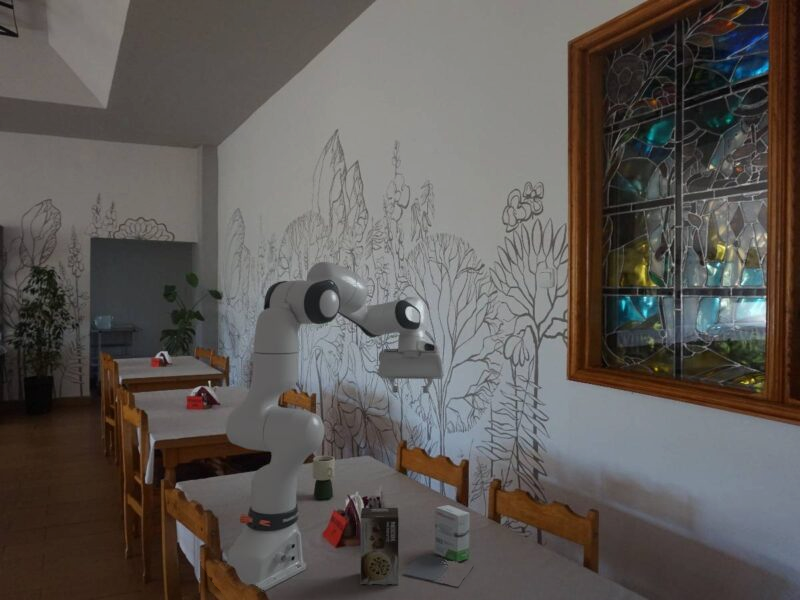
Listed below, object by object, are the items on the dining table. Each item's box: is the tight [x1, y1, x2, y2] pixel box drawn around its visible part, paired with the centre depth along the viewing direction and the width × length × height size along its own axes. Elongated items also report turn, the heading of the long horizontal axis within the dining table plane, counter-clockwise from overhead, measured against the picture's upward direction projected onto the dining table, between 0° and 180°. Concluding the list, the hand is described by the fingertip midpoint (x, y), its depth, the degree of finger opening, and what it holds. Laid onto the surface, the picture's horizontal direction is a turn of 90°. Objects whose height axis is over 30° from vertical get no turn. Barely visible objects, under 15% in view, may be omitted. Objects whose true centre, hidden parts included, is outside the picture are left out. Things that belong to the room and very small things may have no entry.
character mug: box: [312, 455, 336, 500], centre depth 204 cm, size 11×7×13 cm, turn 38°
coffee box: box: [359, 507, 400, 586], centre depth 149 cm, size 9×6×16 cm
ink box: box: [433, 504, 471, 562], centre depth 162 cm, size 9×5×12 cm, turn 39°
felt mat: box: [402, 553, 461, 582], centre depth 154 cm, size 12×14×1 cm
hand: (410, 392), depth 191 cm, fingers open, 8 cm apart
